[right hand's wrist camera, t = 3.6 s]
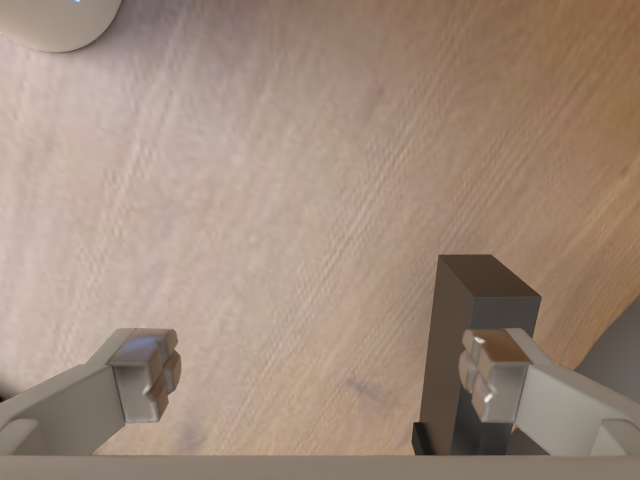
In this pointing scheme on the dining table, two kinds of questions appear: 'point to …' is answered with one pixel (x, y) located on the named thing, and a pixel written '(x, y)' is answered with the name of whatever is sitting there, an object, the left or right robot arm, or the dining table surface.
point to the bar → (446, 347)
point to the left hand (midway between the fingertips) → (441, 432)
